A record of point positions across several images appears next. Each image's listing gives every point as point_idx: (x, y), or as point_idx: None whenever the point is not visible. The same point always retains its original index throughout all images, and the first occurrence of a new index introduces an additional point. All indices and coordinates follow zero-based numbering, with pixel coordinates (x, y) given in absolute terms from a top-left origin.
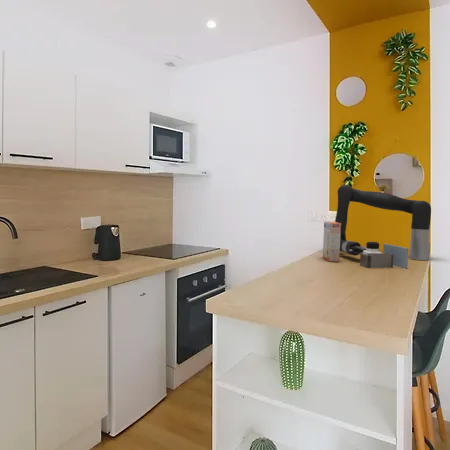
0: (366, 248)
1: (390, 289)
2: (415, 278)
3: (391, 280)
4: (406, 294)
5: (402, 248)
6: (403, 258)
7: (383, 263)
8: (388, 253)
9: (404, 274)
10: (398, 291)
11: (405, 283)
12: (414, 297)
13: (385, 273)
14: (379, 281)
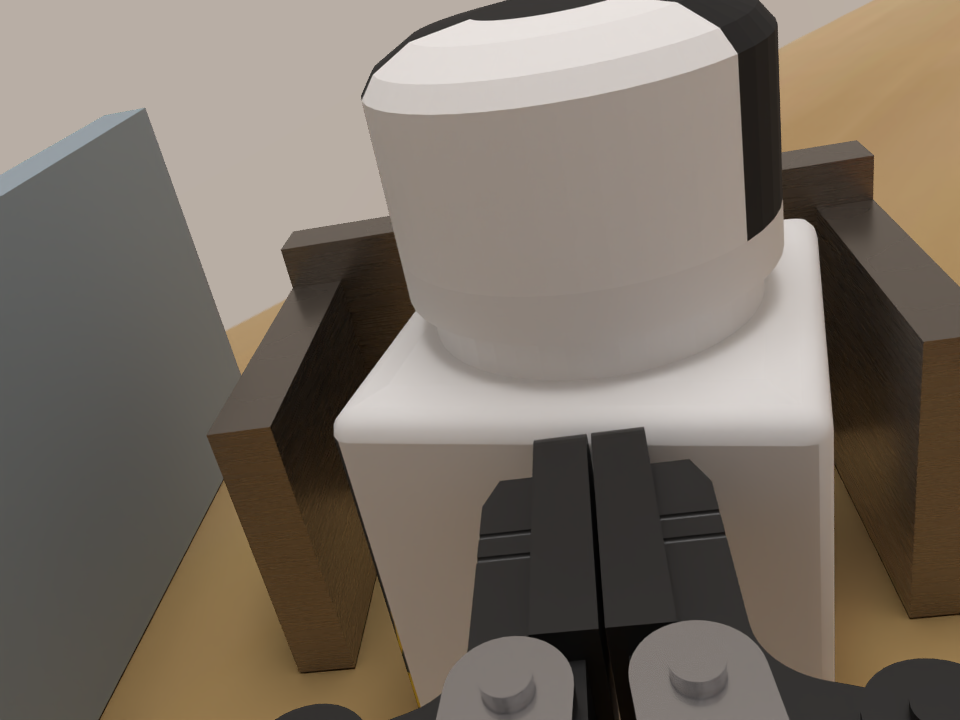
0: (781, 215)
1: (929, 33)
2: None
3: (820, 116)
4: (872, 19)
5: (109, 149)
6: (191, 302)
7: None
8: (387, 223)
9: None
10: (894, 28)
11: None
12: (854, 11)
13: None
14: (941, 90)
